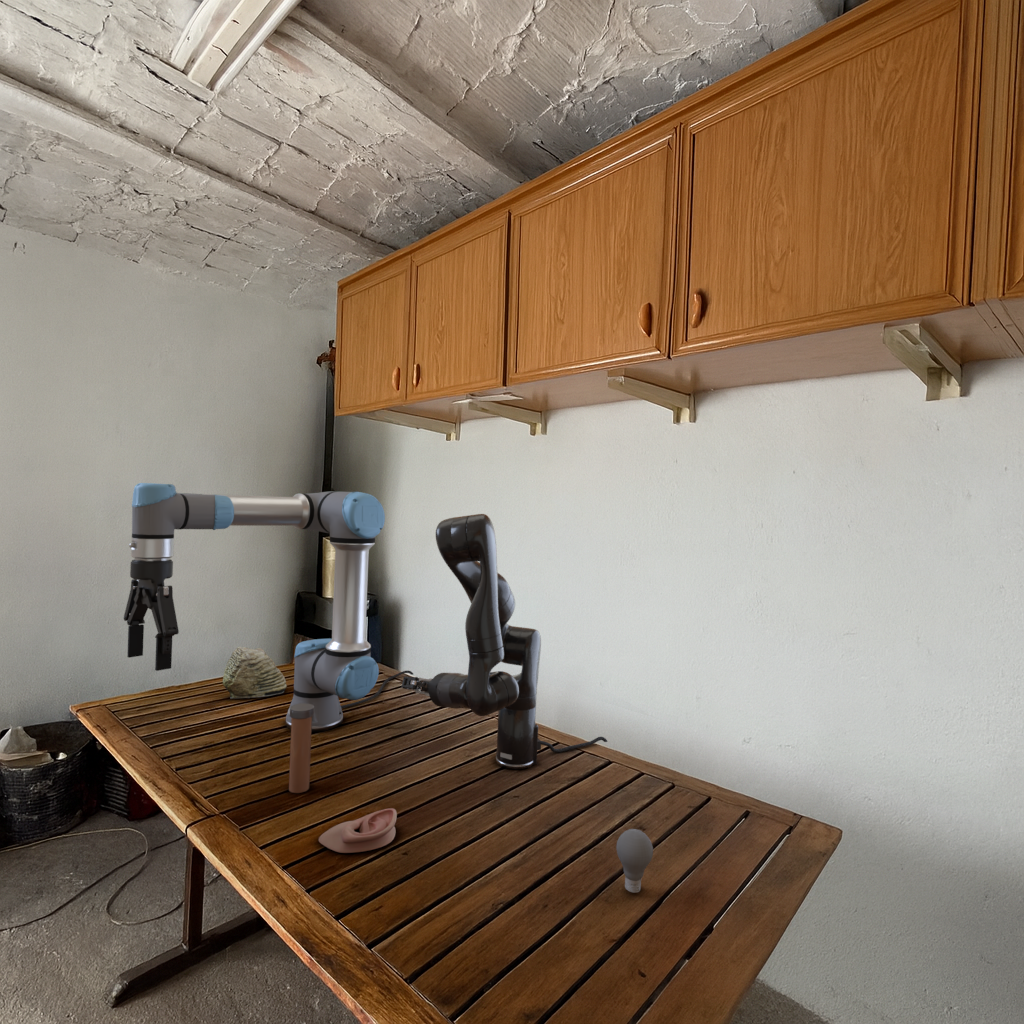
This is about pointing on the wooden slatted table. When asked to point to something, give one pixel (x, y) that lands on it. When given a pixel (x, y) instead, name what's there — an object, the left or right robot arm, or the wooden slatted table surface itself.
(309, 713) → the lid
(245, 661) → the fossil
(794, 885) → the wooden slatted table surface
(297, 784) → the pinkish brown cylinder
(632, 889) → the light bulb
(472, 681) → the right robot arm
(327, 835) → the anatomical model
